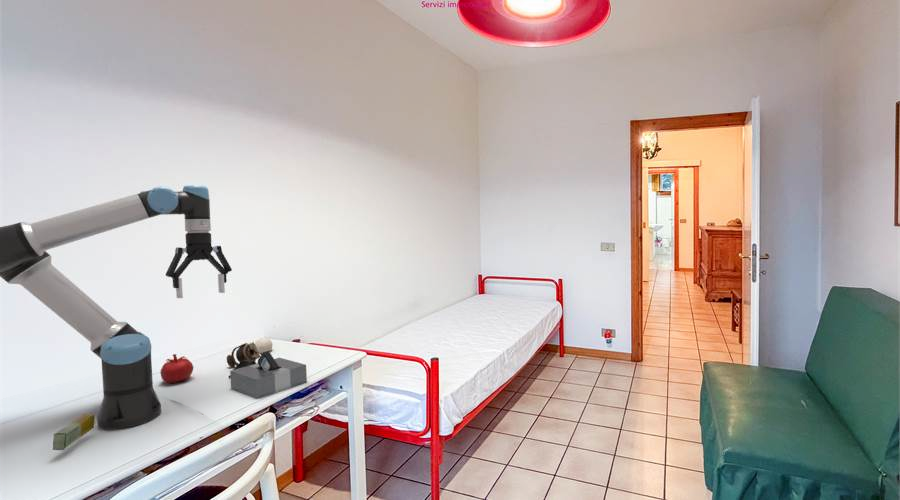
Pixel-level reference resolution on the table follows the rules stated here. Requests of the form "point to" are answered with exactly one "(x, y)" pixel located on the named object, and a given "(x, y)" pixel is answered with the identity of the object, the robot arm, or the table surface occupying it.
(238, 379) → the grey block with hole
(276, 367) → the ink cartridge
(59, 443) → the medication box
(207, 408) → the table surface
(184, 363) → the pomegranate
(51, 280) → the robot arm
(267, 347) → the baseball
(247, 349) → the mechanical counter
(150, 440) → the table surface
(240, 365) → the power plug
